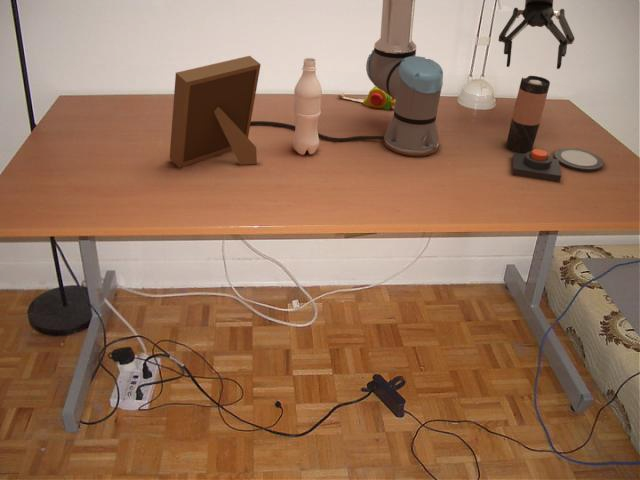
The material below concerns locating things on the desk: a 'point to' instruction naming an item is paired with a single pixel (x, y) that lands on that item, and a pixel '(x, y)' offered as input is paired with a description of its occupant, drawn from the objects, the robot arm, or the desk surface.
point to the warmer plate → (578, 160)
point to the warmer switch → (535, 167)
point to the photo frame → (214, 111)
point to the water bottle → (307, 109)
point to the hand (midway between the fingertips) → (533, 66)
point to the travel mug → (527, 113)
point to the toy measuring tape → (375, 99)
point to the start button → (539, 155)
